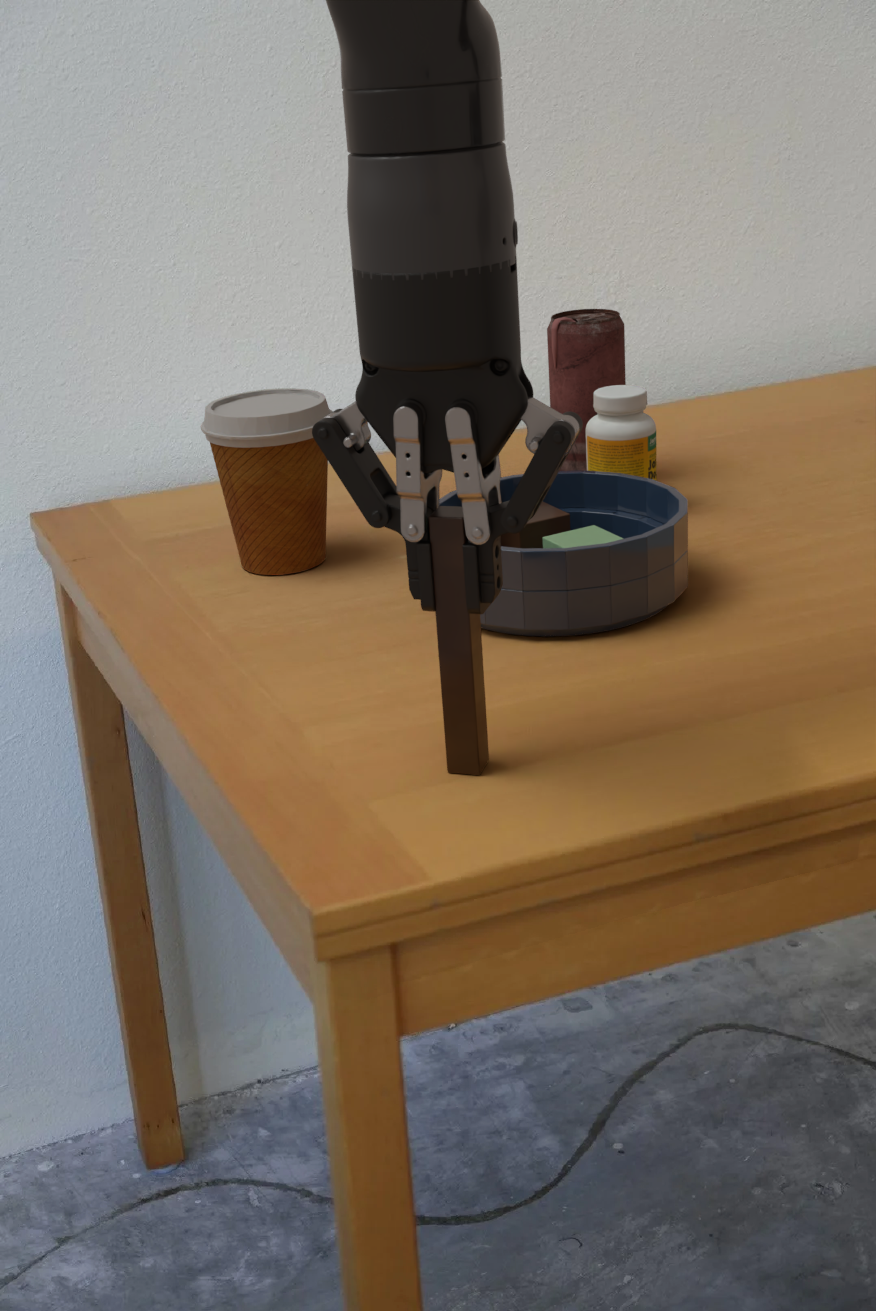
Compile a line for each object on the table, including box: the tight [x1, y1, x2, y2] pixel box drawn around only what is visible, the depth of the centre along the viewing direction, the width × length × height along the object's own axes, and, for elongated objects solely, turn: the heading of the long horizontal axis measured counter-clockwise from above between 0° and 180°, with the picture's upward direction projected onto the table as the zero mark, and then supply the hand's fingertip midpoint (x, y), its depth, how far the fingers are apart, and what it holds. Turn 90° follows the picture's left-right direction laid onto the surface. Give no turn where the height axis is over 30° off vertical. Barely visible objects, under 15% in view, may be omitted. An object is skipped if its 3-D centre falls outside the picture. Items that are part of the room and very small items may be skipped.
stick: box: [428, 506, 490, 776], centre depth 75 cm, size 2×2×14 cm
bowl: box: [439, 471, 689, 638], centre depth 99 cm, size 17×17×6 cm
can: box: [546, 308, 627, 471], centre depth 120 cm, size 6×6×14 cm
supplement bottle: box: [586, 384, 658, 481], centre depth 113 cm, size 5×5×10 cm
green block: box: [542, 525, 623, 548], centre depth 96 cm, size 4×4×4 cm
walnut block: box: [500, 501, 570, 549], centre depth 102 cm, size 4×4×4 cm
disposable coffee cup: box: [200, 387, 334, 576], centre depth 107 cm, size 10×10×12 cm
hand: (458, 606), depth 74 cm, fingers closed on stick, 2 cm apart
